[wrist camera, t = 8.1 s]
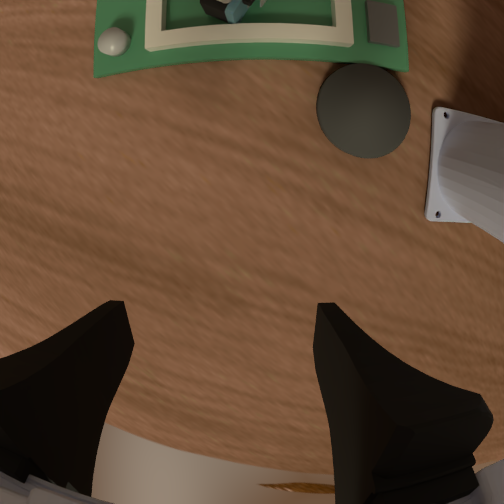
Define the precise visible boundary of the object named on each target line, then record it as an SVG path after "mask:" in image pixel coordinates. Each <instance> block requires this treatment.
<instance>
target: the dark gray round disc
mask: <svg viewBox="0 0 504 504" xmlns="http://www.w3.org/2000/svg"><path fill="white" fill-rule="evenodd" d="M316 111H317V117H318V121H319V124H320V127H321V129H322V131H323V132H324V134H325V136H326V137H327V138H328V139H329V141H330V142H331V143H332V144H333V145H335V146H336V147H337V148H339V149H340V150H342V151H344V152H346V153H348V154H351V155H353V156H356V157H360V158H378V157H381V156H384V155H387V154H389V153H390V152H392V151H393V150H395V149H396V148H397V147H398V146H399V145H400V144H401V143H402V141H403V140H404V138H405V136H406V134H407V132H408V129H409V125H410V119H411V111H410V104H409V101H408V97H407V95H406V93H405V91H404V89H403V87H402V86H401V84H400V83H399V82H398V81H397V80H396V79H395V77H393V76H392V75H391V74H390V73H388V72H387V71H385V70H384V69H382V68H380V67H377V66H374V65H371V64H364V63H357V64H351V65H347V66H344V67H342V68H340V69H338V70H337V71H335V72H334V73H332V74H331V75H330V76H329V77H328V78H327V79H326V80H325V82H324V83H323V84H322V86H321V88H320V90H319V93H318V97H317V103H316Z"/></svg>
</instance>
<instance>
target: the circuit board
mask: <svg viewBox="0 0 504 504" xmlns="http://www.w3.org/2000/svg"><path fill="white" fill-rule="evenodd" d="M260 1H261V0H255V1H254V2H253V4H252V5H251V6H250V8H249V9H248V10H247V12H246V13H245V15H244V16H243V18H242V20H241V22H240V23H239V24H230V23H227V22H225V21H222V20H220V19H217V18H215V17H212V16H210V15H207V14H205V12H204V10H203V8H202V6H201V4H200V0H97V9H96V21H95V39H94V78H101V77H105V76H110V75H115V74H120V73H125V72H130V71H136V70H142V69H148V68H155V67H162V66H169V65H178V64H187V63H197V62H209V61H225V60H255V59H276V60H306V61H322V62H334V63H344V64H357V63H364V64H371V65H374V66H377V67H380V68H383V69H389V70H395V71H400V72H408V71H409V63H408V45H407V32H406V21H405V12H404V4H403V0H267V1H266V2H265V3H264V5H263V6H262V7H260Z"/></svg>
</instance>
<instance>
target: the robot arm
mask: <svg viewBox="0 0 504 504" xmlns="http://www.w3.org/2000/svg"><path fill="white" fill-rule="evenodd" d="M444 112H446V114H447V117H446V118H445V117H444ZM437 211H439V214H438V216H435V214H436V212H437ZM425 217H426V218H427V219H428V220H429V221H442V222H465V223H473V224H475V225H476V226H478V227H480V228H481V229H483V230H484V231H486V232H487V233H489V234H491V235H492V236H494V237H495V238H497V239H498V240H500V241H501V242H503V243H504V123H502V122H498V121H495V120H492V119H488V118H485V117H481V116H477V115H473V114H470V113H466V112H461V111H457V110H453V109H449V108H444V107H435V108H434V109H433V112H432V140H431V157H430V170H429V180H428V190H427V199H426V207H425ZM133 347H134V339H133V336H132V332H131V328H130V324H129V321H128V317H127V313H126V308H125V304H124V301H112V300H110V301H108V302H106V303H104V304H102V305H101V306H99V307H97V308H96V309H94V310H93V311H91V312H89V313H88V314H86V315H85V316H83V317H82V318H80V319H79V320H77V321H76V322H74V323H73V324H71V325H69V326H68V327H66V328H64V329H63V330H61V331H59V332H58V333H56V334H54V335H53V336H51V337H49V338H48V339H46V340H44V341H42V342H40V343H38V344H36V345H34V346H32V347H29V348H27V349H25V350H22V351H20V352H17V353H14V354H12V355H9V356H7V357H3V358H0V504H113V503H109V502H106V501H102V500H99V499H96V498H92V497H91V493H92V481H93V473H94V467H95V461H96V455H97V450H98V446H99V441H100V437H101V433H102V429H103V425H104V422H105V418H106V415H107V413H108V410H109V407H110V405H111V403H112V400H113V398H114V396H115V394H116V391H117V389H118V387H119V385H120V383H121V380H122V378H123V376H124V374H125V371H126V369H127V367H128V364H129V361H130V358H131V354H132V351H133ZM313 353H314V362H315V369H316V374H317V378H318V382H319V386H320V390H321V394H322V398H323V402H324V405H325V409H326V413H327V417H328V423H329V428H330V436H331V445H332V455H333V466H334V481H335V504H504V459H502V460H500V461H498V462H496V463H494V464H492V465H490V466H487V467H485V468H483V469H481V470H480V471H478V472H477V473H476V474H475V473H474V471H473V468H472V466H474V465H475V463H476V460H475V458H474V456H473V452H474V451H475V450H476V448H477V447H478V446H479V445H480V443H481V442H482V441H483V439H484V438H485V437H486V436H487V434H488V432H489V431H490V429H491V427H492V423H493V415H492V413H491V411H490V410H489V408H488V406H487V405H486V403H485V401H484V400H483V398H482V396H481V395H480V394H478V393H474V392H471V391H468V390H464V389H461V388H458V387H455V386H452V385H449V384H447V383H444V382H442V381H440V380H437V379H435V378H433V377H431V376H428V375H426V374H424V373H423V372H421V371H419V370H417V369H415V368H413V367H411V366H410V365H408V364H406V363H405V362H403V361H402V360H400V359H399V358H397V357H396V356H394V355H393V354H391V353H390V352H388V351H387V350H386V349H384V348H383V347H382V346H380V345H379V344H378V343H377V342H376V341H374V340H373V339H372V338H371V337H370V336H368V335H367V334H366V333H365V332H364V331H363V330H362V329H361V328H360V327H359V326H357V325H356V324H355V323H354V322H353V321H352V320H351V319H350V318H349V317H348V316H347V315H346V314H345V313H344V312H343V311H342V310H341V309H340V308H339V307H338V306H337V305H336V304H335V303H318V306H317V315H316V324H315V333H314V342H313Z"/></svg>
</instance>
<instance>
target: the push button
mask: <svg viewBox="0 0 504 504" xmlns="http://www.w3.org/2000/svg"><path fill="white" fill-rule="evenodd" d="M254 1H255V0H200V4H201V6H202V8H203V10H204V12H205V14H207V15H210V16H212V17H215V18H217V19H220V20H222V21H225V22H227V23H230V24H239V23H240V22H241V20H242V18H243V16H244V15H245V13H246V12H247V10H248V9H249V8H250V6H251V5H252V4H253V2H254ZM266 1H267V0H261V1H260V7H262V6H263V5H264V3H265V2H266Z"/></svg>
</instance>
